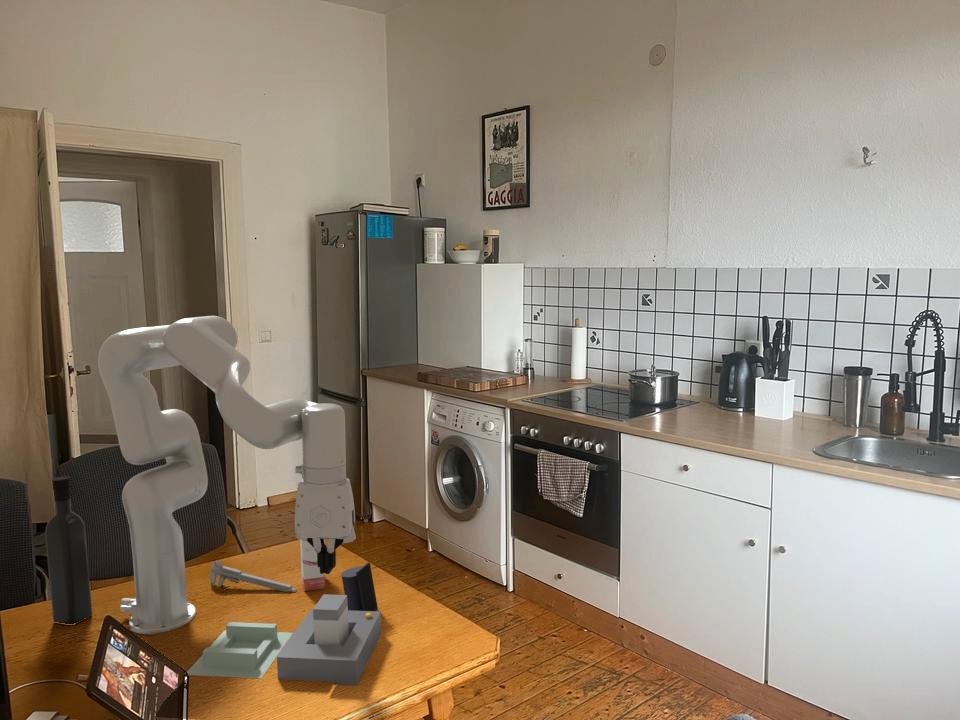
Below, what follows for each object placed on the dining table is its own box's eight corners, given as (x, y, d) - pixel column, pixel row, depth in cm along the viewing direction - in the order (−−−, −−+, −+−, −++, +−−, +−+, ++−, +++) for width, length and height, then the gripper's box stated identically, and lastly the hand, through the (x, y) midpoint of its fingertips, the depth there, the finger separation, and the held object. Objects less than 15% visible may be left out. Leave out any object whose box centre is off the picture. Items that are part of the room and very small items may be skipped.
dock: (278, 682, 128) (276, 653, 128) (311, 631, 146) (310, 606, 145) (356, 685, 127) (355, 657, 126) (381, 633, 145) (380, 608, 144)
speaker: (386, 609, 154) (379, 562, 153) (365, 621, 150) (358, 572, 149) (362, 603, 159) (355, 556, 158) (341, 614, 155) (334, 566, 154)
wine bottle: (50, 624, 150) (37, 481, 147) (73, 611, 156) (61, 473, 152) (72, 627, 149) (59, 483, 145) (95, 615, 154) (83, 475, 150)
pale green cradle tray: (184, 677, 130) (183, 658, 130) (225, 632, 146) (223, 615, 145) (261, 681, 129) (260, 661, 128) (293, 635, 144) (292, 618, 144)
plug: (315, 661, 134) (313, 609, 132) (325, 644, 140) (323, 594, 138) (339, 662, 133) (337, 610, 132) (349, 645, 139) (347, 595, 138)
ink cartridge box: (326, 589, 165) (324, 525, 163) (303, 592, 164) (300, 528, 162) (322, 573, 173) (320, 513, 171) (301, 576, 172) (298, 515, 170)
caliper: (210, 587, 167) (208, 561, 166) (213, 585, 168) (211, 559, 168) (295, 593, 164) (293, 566, 163) (297, 591, 165) (295, 564, 164)
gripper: (276, 477, 129) (279, 577, 132) (360, 481, 128) (361, 582, 130) (291, 465, 136) (294, 560, 139) (370, 468, 135) (372, 564, 137)
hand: (326, 570), depth 135 cm, fingers closed
